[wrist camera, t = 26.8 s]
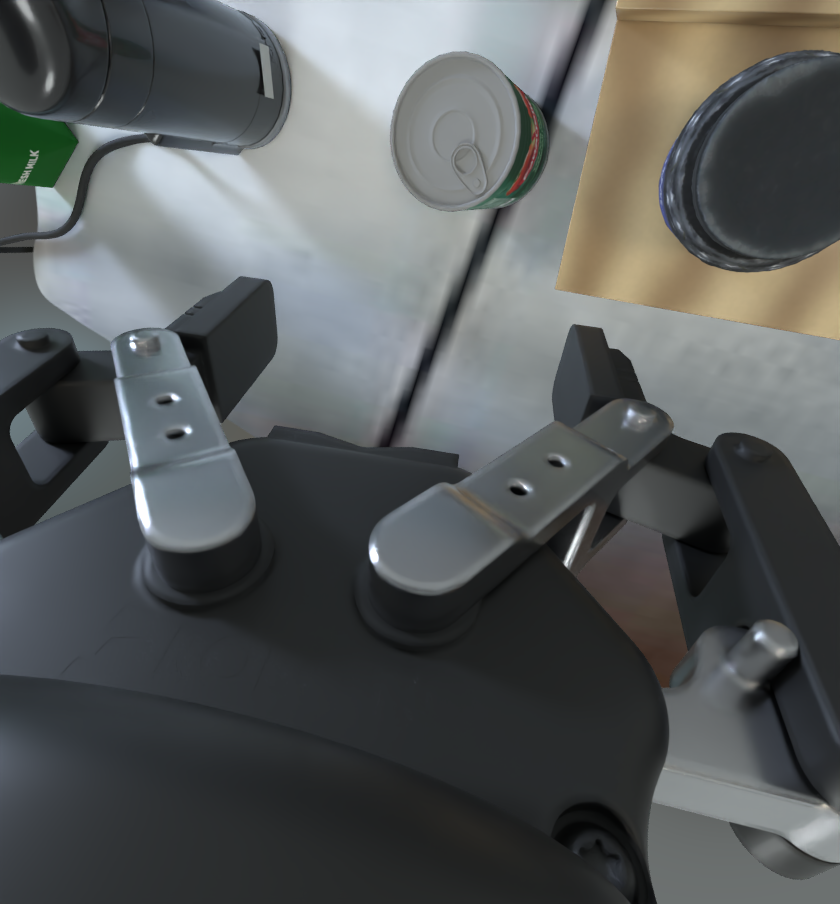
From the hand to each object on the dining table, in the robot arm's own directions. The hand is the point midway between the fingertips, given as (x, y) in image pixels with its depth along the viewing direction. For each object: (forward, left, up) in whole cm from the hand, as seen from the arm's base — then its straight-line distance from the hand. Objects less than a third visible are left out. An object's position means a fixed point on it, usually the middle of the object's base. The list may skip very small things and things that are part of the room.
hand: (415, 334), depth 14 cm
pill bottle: (+9, -2, -16) cm, 19 cm away
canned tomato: (0, +9, -31) cm, 32 cm away
